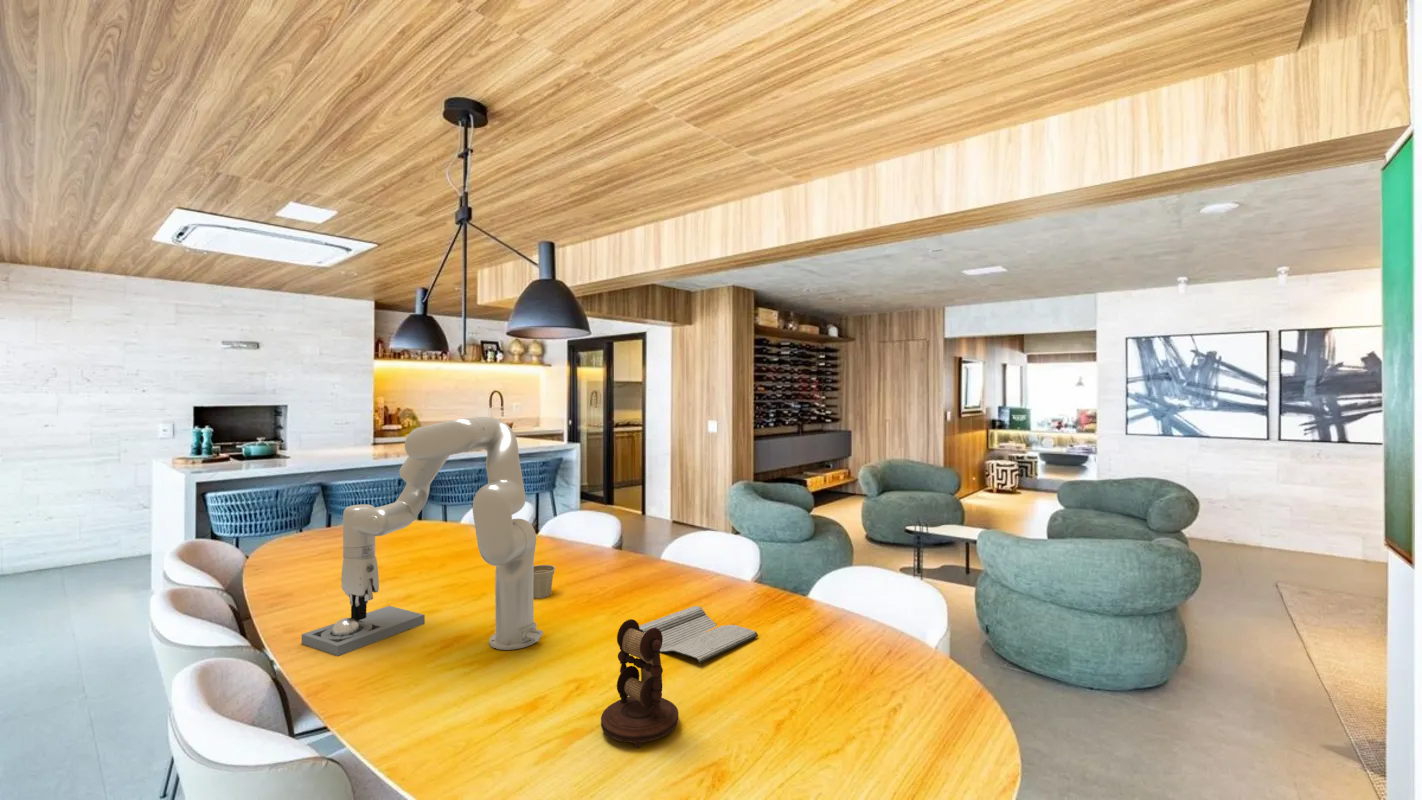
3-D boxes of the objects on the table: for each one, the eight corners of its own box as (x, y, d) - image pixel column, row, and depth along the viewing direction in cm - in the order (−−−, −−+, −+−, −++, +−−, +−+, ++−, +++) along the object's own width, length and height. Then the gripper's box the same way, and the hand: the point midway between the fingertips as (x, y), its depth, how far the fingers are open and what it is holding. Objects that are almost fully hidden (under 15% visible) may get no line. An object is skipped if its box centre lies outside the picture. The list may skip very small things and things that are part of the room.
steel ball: (327, 646, 154) (336, 635, 159) (353, 646, 155) (361, 635, 161) (329, 623, 153) (338, 613, 159) (355, 623, 155) (363, 613, 160)
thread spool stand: (694, 725, 115) (693, 622, 115) (636, 760, 104) (635, 646, 104) (643, 700, 125) (642, 605, 125) (585, 730, 114) (584, 625, 114)
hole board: (424, 623, 169) (424, 614, 169) (337, 656, 148) (337, 645, 148) (389, 614, 176) (389, 605, 176) (301, 643, 155) (301, 634, 155)
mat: (699, 670, 140) (699, 650, 140) (632, 644, 155) (632, 626, 155) (758, 640, 157) (758, 622, 157) (693, 619, 172) (692, 602, 172)
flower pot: (537, 602, 186) (537, 574, 186) (519, 596, 191) (519, 569, 191) (561, 594, 193) (561, 567, 193) (543, 589, 199) (543, 563, 199)
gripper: (389, 551, 161) (389, 619, 161) (356, 544, 168) (356, 610, 168) (362, 558, 154) (361, 629, 154) (328, 550, 161) (328, 618, 161)
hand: (358, 619), depth 161 cm, fingers closed
